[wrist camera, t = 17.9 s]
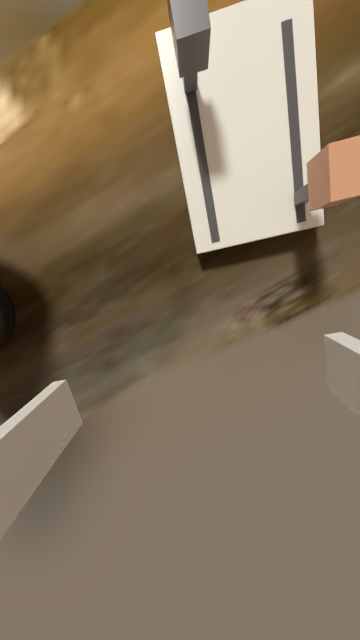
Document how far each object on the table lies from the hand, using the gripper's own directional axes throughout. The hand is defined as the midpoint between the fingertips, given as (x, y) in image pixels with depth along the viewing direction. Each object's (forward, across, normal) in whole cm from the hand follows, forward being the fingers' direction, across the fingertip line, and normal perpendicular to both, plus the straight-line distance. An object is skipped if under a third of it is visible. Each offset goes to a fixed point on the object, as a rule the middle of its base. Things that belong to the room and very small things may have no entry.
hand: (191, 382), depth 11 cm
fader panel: (+27, +11, +20) cm, 35 cm away
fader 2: (+23, +17, +11) cm, 31 cm away
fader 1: (+23, +5, +27) cm, 36 cm away
